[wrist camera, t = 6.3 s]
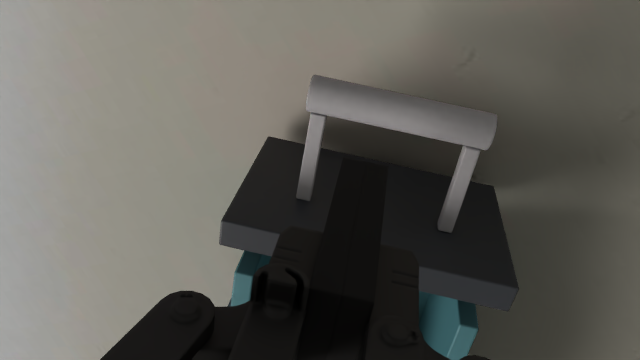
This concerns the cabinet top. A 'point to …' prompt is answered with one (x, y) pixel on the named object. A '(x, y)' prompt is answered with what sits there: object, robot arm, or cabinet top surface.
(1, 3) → the cabinet top surface
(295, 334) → the robot arm
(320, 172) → the drawer
